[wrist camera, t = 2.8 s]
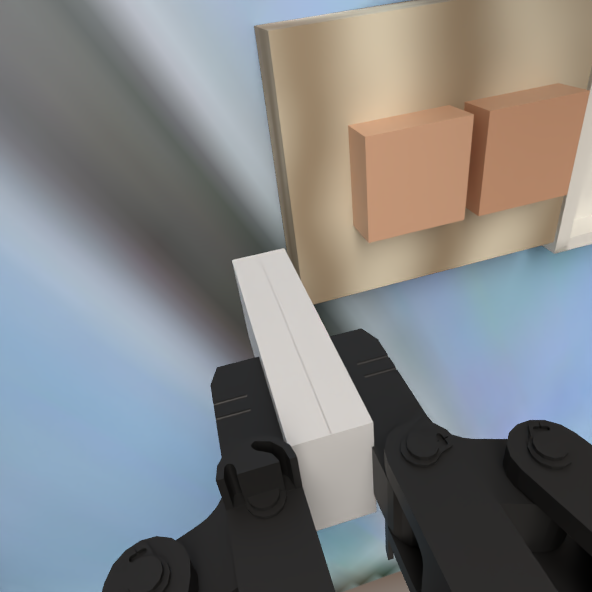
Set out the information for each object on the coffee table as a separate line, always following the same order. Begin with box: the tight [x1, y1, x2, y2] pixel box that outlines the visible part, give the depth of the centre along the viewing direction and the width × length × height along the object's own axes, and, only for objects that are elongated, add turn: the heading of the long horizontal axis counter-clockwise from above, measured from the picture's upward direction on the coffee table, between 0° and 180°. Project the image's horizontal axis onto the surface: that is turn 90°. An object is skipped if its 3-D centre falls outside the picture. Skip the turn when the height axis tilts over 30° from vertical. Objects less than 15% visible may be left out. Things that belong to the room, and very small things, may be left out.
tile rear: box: [464, 83, 590, 216], centre depth 21 cm, size 4×4×2 cm
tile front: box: [348, 105, 474, 243], centre depth 20 cm, size 4×4×2 cm
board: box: [254, 0, 592, 304], centre depth 22 cm, size 14×12×2 cm
